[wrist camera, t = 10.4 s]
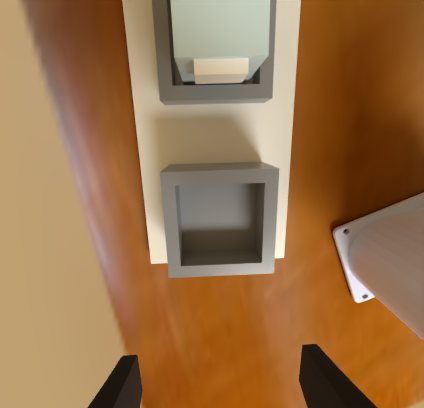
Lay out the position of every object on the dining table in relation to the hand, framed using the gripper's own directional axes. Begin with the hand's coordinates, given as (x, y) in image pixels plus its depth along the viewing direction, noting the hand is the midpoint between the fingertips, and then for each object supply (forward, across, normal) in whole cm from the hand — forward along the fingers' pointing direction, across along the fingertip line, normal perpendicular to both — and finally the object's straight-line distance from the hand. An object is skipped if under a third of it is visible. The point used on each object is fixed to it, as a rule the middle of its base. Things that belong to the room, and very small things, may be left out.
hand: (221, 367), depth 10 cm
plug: (+9, 0, -15) cm, 18 cm away
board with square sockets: (+10, 0, -10) cm, 14 cm away
